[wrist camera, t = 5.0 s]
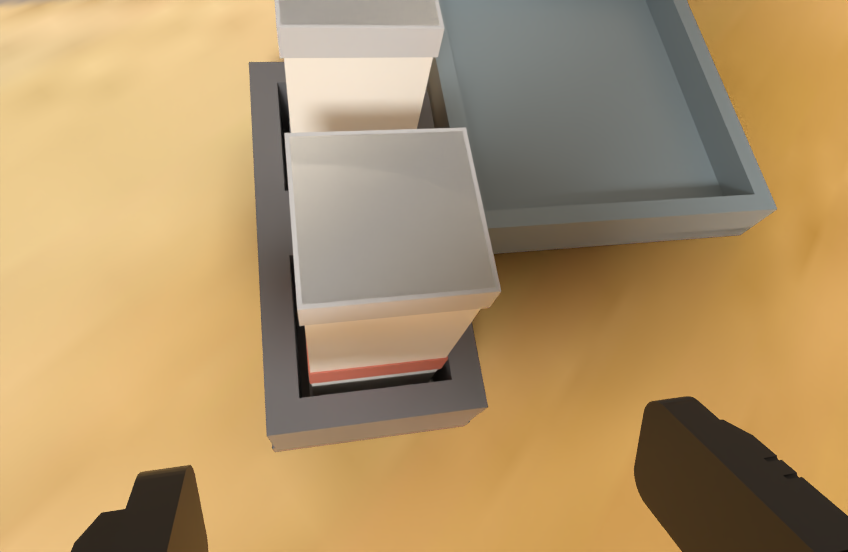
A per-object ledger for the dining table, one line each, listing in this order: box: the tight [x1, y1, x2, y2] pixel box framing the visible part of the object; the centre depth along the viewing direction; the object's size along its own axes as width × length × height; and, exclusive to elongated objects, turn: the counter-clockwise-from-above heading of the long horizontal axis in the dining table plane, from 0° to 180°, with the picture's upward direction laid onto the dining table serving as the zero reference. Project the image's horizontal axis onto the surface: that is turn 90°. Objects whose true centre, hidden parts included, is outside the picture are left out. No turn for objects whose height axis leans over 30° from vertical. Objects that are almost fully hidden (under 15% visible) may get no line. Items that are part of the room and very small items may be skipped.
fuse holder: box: [249, 62, 488, 452], centre depth 22 cm, size 7×14×4 cm, turn 9°
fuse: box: [275, 0, 444, 133], centre depth 20 cm, size 4×4×10 cm
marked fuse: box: [284, 128, 501, 397], centre depth 17 cm, size 4×4×10 cm
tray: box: [427, 0, 777, 254], centre depth 28 cm, size 14×16×2 cm
